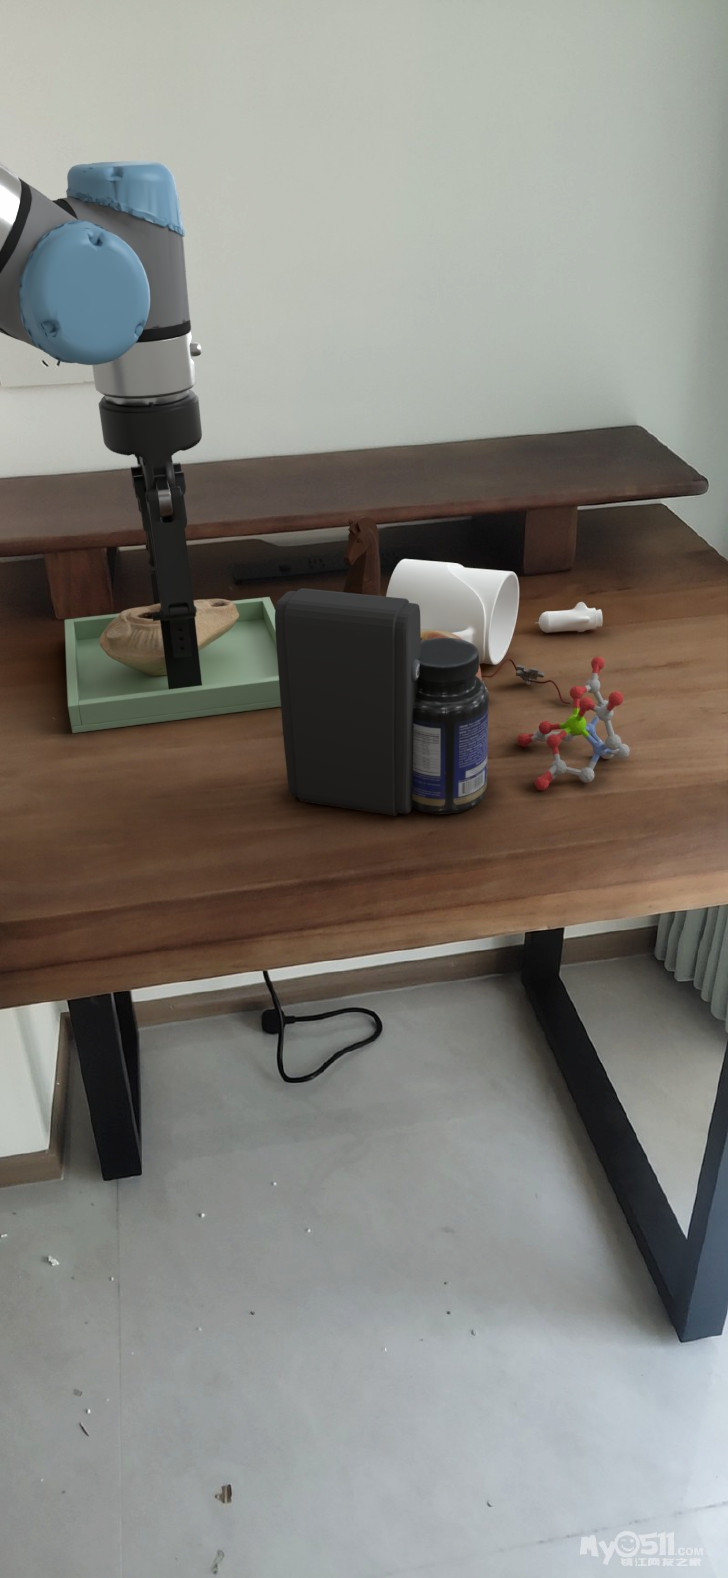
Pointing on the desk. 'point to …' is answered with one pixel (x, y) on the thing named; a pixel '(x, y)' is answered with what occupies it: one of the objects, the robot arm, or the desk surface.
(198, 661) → the robot arm
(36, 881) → the desk surface
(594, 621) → the small white plastic part
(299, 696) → the dark grey rectangular block
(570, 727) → the molecular model
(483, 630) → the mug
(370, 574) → the chess piece
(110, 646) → the pottery oil lamp
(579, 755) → the desk surface
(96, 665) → the tray
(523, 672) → the pendant
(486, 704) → the pill bottle
